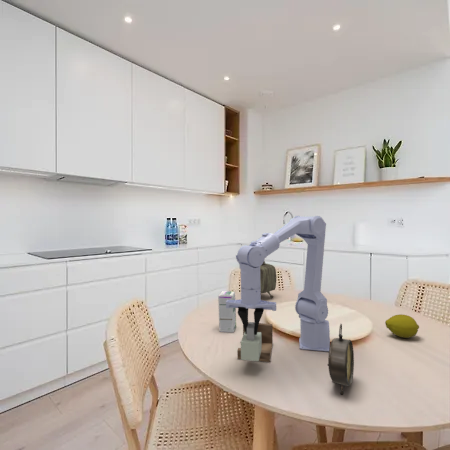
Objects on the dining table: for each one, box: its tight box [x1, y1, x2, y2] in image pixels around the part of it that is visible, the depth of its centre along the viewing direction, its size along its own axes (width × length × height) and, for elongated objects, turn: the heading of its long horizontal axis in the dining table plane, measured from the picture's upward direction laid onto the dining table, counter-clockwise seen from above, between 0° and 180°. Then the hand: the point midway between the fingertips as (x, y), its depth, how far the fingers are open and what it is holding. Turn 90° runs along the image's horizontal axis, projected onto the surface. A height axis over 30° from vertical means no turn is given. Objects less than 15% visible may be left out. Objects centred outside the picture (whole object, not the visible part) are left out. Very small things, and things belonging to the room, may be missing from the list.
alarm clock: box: [327, 323, 355, 396], centre depth 76 cm, size 11×5×16 cm, turn 148°
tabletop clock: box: [260, 260, 277, 299], centre depth 155 cm, size 14×9×25 cm, turn 43°
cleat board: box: [237, 321, 274, 363], centre depth 96 cm, size 10×12×7 cm
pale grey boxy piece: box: [240, 321, 262, 362], centre depth 85 cm, size 5×8×8 cm, turn 167°
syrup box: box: [217, 290, 237, 333], centre depth 114 cm, size 6×6×14 cm
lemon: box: [384, 314, 420, 339], centre depth 105 cm, size 11×8×8 cm
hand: (251, 333), depth 85 cm, fingers closed on pale grey boxy piece
